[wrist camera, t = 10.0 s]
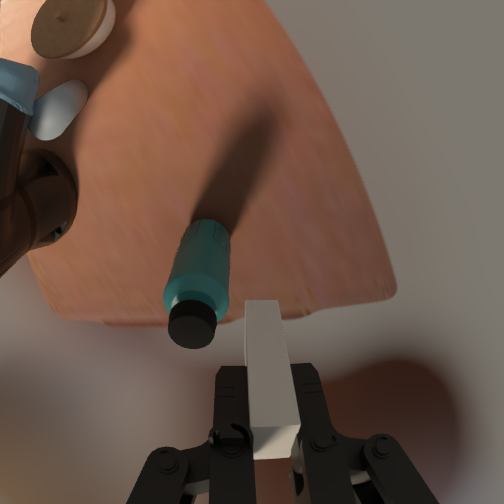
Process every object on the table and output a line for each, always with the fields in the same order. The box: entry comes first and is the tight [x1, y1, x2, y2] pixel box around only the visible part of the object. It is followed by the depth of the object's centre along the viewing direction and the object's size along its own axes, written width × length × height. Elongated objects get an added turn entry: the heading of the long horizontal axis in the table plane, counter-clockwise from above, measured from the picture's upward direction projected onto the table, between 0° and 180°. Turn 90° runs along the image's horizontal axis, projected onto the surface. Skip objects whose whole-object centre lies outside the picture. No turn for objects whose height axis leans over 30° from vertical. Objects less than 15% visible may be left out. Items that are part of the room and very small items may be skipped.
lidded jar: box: [31, 0, 116, 59], centre depth 22 cm, size 11×11×9 cm
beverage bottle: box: [163, 219, 231, 349], centre depth 32 cm, size 6×7×20 cm
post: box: [28, 79, 88, 140], centre depth 26 cm, size 5×5×12 cm
